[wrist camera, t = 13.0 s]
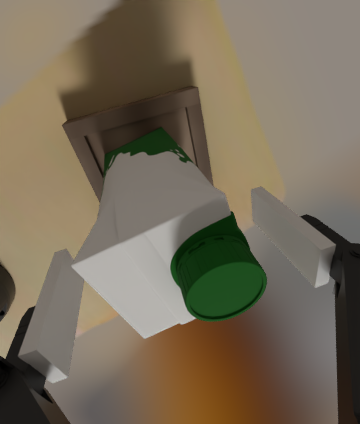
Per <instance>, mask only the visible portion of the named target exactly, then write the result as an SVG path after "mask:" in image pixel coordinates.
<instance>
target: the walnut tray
mask: <svg viewBox="0 0 360 424" xmlns="http://www.w3.org/2000/svg"><path fill="white" fill-rule="evenodd" d="M62 126H63V128H64V130H65V132H66V134H67V136H68V139H69V141H70V143H71V145H72V147H73V149H74V151H75V153H76V155H77V157H78V159H79V161H80V163H81V165H82V167H83V169H84V171H85V173H86V175H87V177H88V179H89V182H90V184H91V186H92V188H93V190H94V192H95V194H96V196H97V198H98V200H99V202H100V200H101V194H102V188H103V177H104V155H105V154H106V153H109V152H111V151H113V150H115V149H117V148H119V147H121V146H123V145H125V144H127V143H129V142H131V141H133V140H135V139H137V138H139V137H141V136H144V135H146V134H148V133H150V132H152V131H154V130H156V129H158V128H160V127H162V128H163V129H164V130H165V131H166V132H167V133H168V134H169V135H170V136H171V137H172V139H173V140H174V141H175V142H176V143H177V144H178V145H179V146H180V147H181V148H182V149H183V150H184V152H185V153H186V154H187V155H188V157H189V158H190V159H191V160H192V161H193V163H194V164H195V165H196V166H197V167H198V169H199V170H200V171H201V172H202V174H203V175H204V176H205V177H206V178H207V180H208V181H209V182H210V183H211V185H212V186H213V180H212V173H211V167H210V161H209V154H208V148H207V142H206V135H205V129H204V123H203V116H202V110H201V104H200V97H199V91H198V87H193V86H191V87H187V88H184V89H180V90H176V91H173V92H169V93H165V94H162V95H158V96H155V97H151V98H147V99H144V100H140V101H137V102H133V103H129V104H126V105H122V106H119V107H115V108H111V109H108V110H104V111H100V112H97V113H93V114H90V115H86V116H82V117H79V118H75V119H72V120H68V121H66V122H65V123H64V124H63V125H62Z"/></svg>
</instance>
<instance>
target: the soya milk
mask: <svg viewBox="0 0 360 424" xmlns="http://www.w3.org/2000/svg"><path fill="white" fill-rule="evenodd" d="M71 267H72V268H73V269H74V270H75V271H76V272H77V273H78V274H79V275H80V276H81V277H82V278H83V279H84V280H85V281H86V282H87V283H88V284H89V285H90V286H91V287H92V288H93V289H94V290H95V291H96V292H97V293H98V294H99V295H100V296H102V297H103V298H104V299H105V300H106V301H107V302H108V303H109V304H110V305H111V306H112V307H113V308H114V309H115V310H116V311H117V312H118V313H119V314H120V315H121V316H122V317H123V318H124V319H125V320H126V321H127V322H128V323H129V324H130V325H131V326H132V327H133V328H134V329H135V330H136V331H137V332H138V333H139V334H140V335H141V336H142V337H143V338H148V337H150V336H152V335H154V334H156V333H159V332H161V331H163V330H165V329H167V328H169V327H171V326H173V325H176V324H178V323H180V324H185V323H187V322H189V321H191V320H193V319H195V318H197V319H199V320H203V321H221V320H226V319H230V318H233V317H235V316H238V315H240V314H241V313H243V312H245V311H247V310H248V309H249V308H251V307H252V306H253V305H254V304H255V303H256V302H257V301H258V300H259V299H260V298H261V296H262V295H263V293H264V291H265V288H266V284H267V277H266V274H265V272H264V270H263V269H262V267H261V266H260V264H259V263H258V261H257V260H256V259H255V257H254V256H253V254H252V253H251V251H250V248H249V245H248V242H247V240H246V238H245V236H244V234H243V233H242V231H241V230H240V229H239V228H238V226H237V222H236V219H235V216H234V213H233V212H232V211H230V209H229V205H228V202H227V199H226V196H225V193H223V192H222V191H220V190H219V189H217V188H215V187H214V186H212V185H211V183H210V182H209V181H208V180H207V178H206V177H205V176H204V175H203V174H202V172H201V171H200V170H199V169H198V167H197V166H196V165H195V164H194V163H193V161H192V160H191V159H190V158H189V157H188V155H187V154H186V153H185V152H184V150H183V149H182V148H181V147H180V146H179V145H178V144H177V143H176V142H175V141H174V140H173V139H172V137H171V136H170V135H169V134H168V133H167V132H166V131H165V130H164V129H163V128H162V127H160V128H158V129H156V130H154V131H152V132H150V133H148V134H146V135H144V136H141V137H139V138H137V139H135V140H133V141H131V142H129V143H127V144H125V145H123V146H121V147H119V148H117V149H115V150H113V151H111V152H109V153H106V154H105V155H104V177H103V188H102V194H101V200H100V206H99V212H98V218H97V221H96V223H95V224H94V226H93V228H92V230H91V231H90V233H89V235H88V237H87V238H86V240H85V242H84V244H83V245H82V247H81V249H80V251H79V252H78V254H77V256H76V258H75V259H74V261H73V263H72V265H71Z"/></svg>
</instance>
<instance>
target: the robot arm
mask: <svg viewBox="0 0 360 424" xmlns="http://www.w3.org/2000/svg"><path fill="white" fill-rule="evenodd" d="M251 199H252V217H253V222H254V223H255V224H256V225H257V226H258V227H259V228H260V229H261V230H262V231H263V232H264V233H265V234H266V236H267V237H268V238H269V239H270V240H271V241H272V242H273V243H274V244H275V245H276V246H277V247H278V249H279V250H280V251H281V252H282V253H283V254H284V255H285V256H286V257H287V258H288V259H289V260H290V262H291V263H292V264H293V265H294V266H295V267H296V268H297V269H298V270H299V271H300V272H301V273H302V275H304V277H305V278H306V279H307V280H308V281H309V282H310V283H311V284H312V285H313V286H314V288H316V287H319V286H321V285H324V284H327V283H328V281H329V276H331V277H332V278H333V279H334V280H335V285H334V290H333V294H335V317H336V318H335V319H336V352H337V354H336V356H337V392H338V424H360V244H355V243H350V242H349V241H347V240H346V239H344V238H343V237H342V236H340V235H339V234H338V233H336V232H335V231H333V230H332V229H331V228H329V227H328V226H326V225H325V224H323V223H322V222H321V221H320V220H318V219H317V218H314V217H312V216H309V215H307V214H306V215H303V216H298V215H297V214H296V213H295V212H293V211H292V210H291V209H289V208H288V207H287V206H286V205H284V204H283V203H282V202H280V201H279V200H278V199H277V198H275V197H274V196H273V195H271V194H270V193H269V192H268V191H266V190H265V189H264V188H263V187H257V188H254V189H251ZM73 261H74V260H73V258H72V257H71V255H70V254H69V252H68V251H67V249H64V250H61V251H58V252H55V253H54V256H53V259H52V262H51V264H50V267H49V270H48V273H47V276H46V279H45V281H44V284H43V287H42V290H41V293H40V295H39V298H38V301H37V304H36V306H34V307H31V308H29V309H28V310H27V311H26V313H25V314H24V315H23V317H22V319H21V321H20V324H19V326H18V329H17V331H16V334H15V337H14V339H13V341H12V344H11V346H10V349H9V351H8V354H7V356H6V359H4V358H3V357H1V356H0V424H70V422H69V421H68V419H67V418H66V417H65V415H64V414H63V412H62V411H61V409H60V408H59V406H58V405H57V404H56V402H55V401H54V399H53V398H52V396H51V395H50V393H49V392H48V391H47V390H46V389H45V388H44V384H45V380H46V379H48V380H49V381H50V382H51V383H55V382H57V381H60V380H63V379H65V378H68V376H69V369H70V363H71V357H72V351H73V345H74V339H75V333H76V327H77V321H78V315H79V309H80V303H81V297H82V290H83V284H84V279H83V278H82V277H81V276H80V275H79V274H78V273H77V272H76V271H75V270H74V269H73V268H72V267H71V265H72V263H73ZM14 297H15V285H14V282H13V280H12V278H11V277H10V275H9V274H8V273H7V272H6V271H5V270H4V269H3V268H2V267H1V266H0V321H1V320H2V319H3V318H4V317H5V315H6V314H7V312H8V310H9V308H10V306H11V304H12V302H13V300H14Z"/></svg>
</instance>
